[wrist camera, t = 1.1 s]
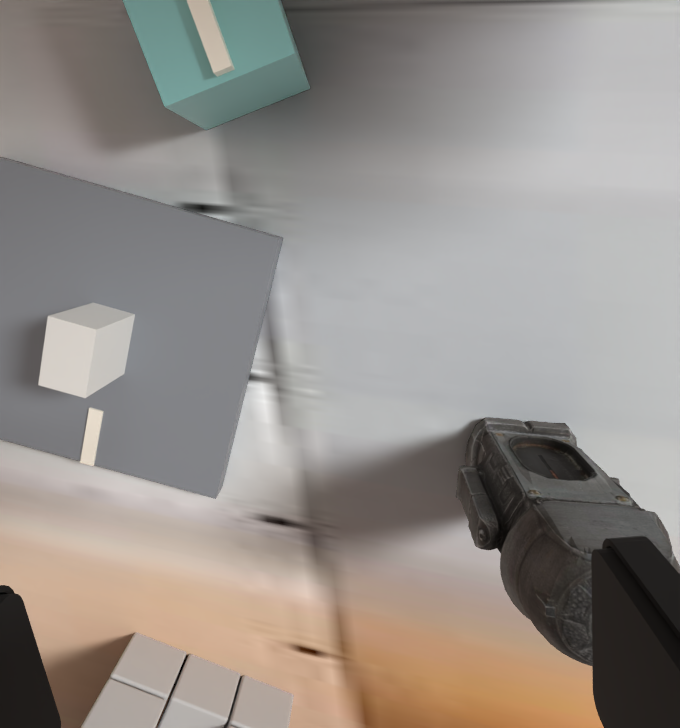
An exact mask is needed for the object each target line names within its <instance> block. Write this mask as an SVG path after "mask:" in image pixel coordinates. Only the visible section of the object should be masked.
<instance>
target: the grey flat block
mask: <svg viewBox="0 0 680 728" xmlns="http://www.w3.org/2000/svg"><path fill="white" fill-rule="evenodd" d="M282 241H283V238H282V237H279V236H275V235H272V234H268V233H265V232H261V231H258V230H254V229H251V228H247V227H244V226H240V225H237V224H234V223H230V222H227V221H223V220H220V219H216V218H213V217H209V216H206V215H202V214H199V213H195V212H192V211H188V210H185V209H181V208H178V207H174V206H171V205H167V204H164V203H160V202H157V201H153V200H150V199H147V198H143V197H140V196H136V195H133V194H129V193H126V192H122V191H119V190H115V189H112V188H108V187H105V186H101V185H98V184H94V183H91V182H87V181H84V180H80V179H77V178H73V177H70V176H66V175H63V174H59V173H56V172H53V171H49V170H46V169H42V168H39V167H35V166H32V165H28V164H25V163H21V162H18V161H14V160H11V159H7V158H4V157H0V439H1V440H5V441H8V442H12V443H16V444H19V445H23V446H27V447H30V448H34V449H37V450H41V451H45V452H48V453H52V454H56V455H59V456H63V457H66V458H70V459H74V460H77V461H80V463H83V464H87V465H90V466H94V465H95V466H99V467H103V468H106V469H110V470H114V471H117V472H121V473H124V474H128V475H132V476H135V477H139V478H143V479H146V480H150V481H153V482H157V483H161V484H164V485H168V486H172V487H175V488H179V489H182V490H186V491H190V492H193V493H197V494H201V495H204V496H208V497H211V498H215V499H216V497H217V496H218V494H219V492H220V490H221V488H222V486H223V481H224V477H225V473H226V469H227V465H228V461H229V457H230V453H231V449H232V445H233V441H234V437H235V432H236V428H237V424H238V420H239V416H240V412H241V408H242V404H243V400H244V396H245V392H246V388H247V384H248V379H249V375H250V371H251V367H252V363H253V359H254V355H255V351H256V347H257V343H258V339H259V335H260V330H261V326H262V322H263V318H264V314H265V310H266V306H267V302H268V298H269V294H270V290H271V286H272V282H273V277H274V273H275V269H276V265H277V261H278V257H279V253H280V249H281V245H282Z"/></svg>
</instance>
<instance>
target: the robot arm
mask: <svg viewBox="0 0 680 728" xmlns="http://www.w3.org/2000/svg"><path fill="white" fill-rule="evenodd" d="M591 571H592V652H593V695H594V701H595V705H596V709H597V712H598V715H599V717H600V720H601V722H602V724H603V726H604V728H680V574H679V573H678V572H677V571H676V569H675V568H674V567H673V566H672V565H671V564H670V562H669V561H668V560H667V559H666V558H665V557H664V556H663V554H662V553H661V552H660V551H659V550H658V549H657V547H656V546H655V545H654V544H653V543H652V542H651V540H649V539H648V538H647V537H646V536H632V537H619V538H606V539H605V540H604V542H603V544H602V549H594V550H593V551H592V557H591ZM0 728H61V721H60V716H59V713H58V710H57V707H56V704H55V701H54V697H53V694H52V691H51V688H50V685H49V682H48V678H47V675H46V672H45V669H44V666H43V663H42V659H41V656H40V653H39V650H38V647H37V644H36V640H35V637H34V634H33V631H32V628H31V625H30V621H29V618H28V615H27V612H26V609H25V606H24V603H23V600H22V598H21V597H20V596H19V595H18V594H15V593H14V591H13V590H12V589H11V588H10V587H9V586H5V585H1V586H0Z"/></svg>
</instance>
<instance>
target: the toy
mask: <svg viewBox="0 0 680 728" xmlns="http://www.w3.org/2000/svg"><path fill="white" fill-rule="evenodd" d="M465 459H466V466H460V468H459V471H458V480H457V496H456V497H457V498H458V499H459V500H461V503H462V505H463V508H464V510H465V513H466V516H467V518H468V521H469V529H470V531H471V535H472V538H473V540H474V543H475V546H476V547H478V548H480V549H485V550H492V549H495V548H498V550H499V551H500V553H501V559H500V570H501V577H502V580H503V584H504V587H505V590H506V592H507V594H508V595H509V597H510V599H511V601H512V602H513V604H514V605H515V606H516V607H517V608H518V609H519V611H520V612H521V613H522V614H523V615H525V616H526V617H527V618H528V619H530V620H531V621H532V623H533V624H534V626H535V627H536V629H537V630H538V631H539V632H540V633H541V634H542V635H543V636H544V637H545V638H546V640H547V641H548V642H549V643H550V644H551V645H553V646H554V647H555V648H556V649H558V650H559V651H560V652H562V653H563V654H565V655H567V656H569V657H570V658H572V659H575V660H577V661H579V662H581V663H584V664H587V665H590V666H593V652H592V571H591V557H592V551H593V550H594V549H602V544H603V542H604V540H605V539H606V538H619V537H632V536H646V537H647V538H648V539H649V540H651V542H652V543H653V544H654V545H655V546H656V547H657V549H658V550H659V551H660V552H661V553H662V554H663V556H664V557H665V558H666V559H667V560H668V561H669V562H670V564H671V565H672V566H673V567H674V568H675V569H676V571H677V572H678V573H679V574H680V566H679V564H678V562H677V560H676V558H675V556H674V554H673V551H672V546H671V542H670V539H669V535H668V532H667V531H666V529H665V527H664V525H663V524H662V522H661V520H660V519H659V517H658V516H657V514H656V513H655V512H650V511H646V510H645V509H641V508H640V507H639V506H638V505H637V504H636V502H635V501H634V500H633V499H632V498H631V497H630V494H629V493H628V492H627V491H625V490H624V489H623V488H622V487H621V486H620V484H619V479H617V478H610V477H609V476H608V475H607V474H606V473H605V472H604V471H603V470H602V469H601V468H600V467H599V466H598V465H597V464H596V463H594V462H593V461H592V460H591V459H590V458H589V457H588V456H587V455H586V454H585V453H584V452H583V451H582V449H580V448H578V447H577V444H576V437H575V436H574V434H573V433H572V431H571V430H570V429H569V427H568V426H567V425H566V424H565V423H547V422H537V421H529V422H527V423H523V422H522V421H519V420H513V419H500V418H485V419H484V420H482V421H481V422H480V423H478V424H477V425H476V426H475V428H474V430H473V432H472V434H471V436H470V438H469V441H468V444H467V450H466V455H465Z"/></svg>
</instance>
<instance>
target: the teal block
mask: <svg viewBox="0 0 680 728" xmlns="http://www.w3.org/2000/svg"><path fill="white" fill-rule="evenodd" d="M123 3H124V5H125V8H126V10H127V13H128V15H129V18H130V21H131V23H132V26H133V28H134V31H135V33H136V36H137V38H138V41H139V43H140V46H141V48H142V51H143V53H144V56H145V59H146V61H147V64H148V66H149V69H150V71H151V74H152V76H153V79H154V81H155V84H156V86H157V89H158V92H159V94H160V97H161V99H162V102H163V104H164V107H166V108H167V109H169V110H171V111H173V112H174V113H176V114H178V115H180V116H181V117H183V118H185V119H187V120H189V121H190V122H192V123H194V124H196V125H197V126H199V127H201V128H203V129H204V130H208V129H211V128H213V127H216V126H218V125H221V124H223V123H226V122H228V121H231V120H233V119H236V118H238V117H241V116H243V115H246V114H248V113H251V112H253V111H256V110H258V109H261V108H263V107H266V106H268V105H271V104H273V103H276V102H278V101H281V100H283V99H286V98H288V97H291V96H293V95H296V94H298V93H301V92H303V91H306V90H308V89H310V86H309V83H308V80H307V77H306V74H305V71H304V68H303V65H302V62H301V59H300V56H299V53H298V50H297V47H296V44H295V41H294V38H293V35H292V32H291V29H290V26H289V23H288V20H287V17H286V14H285V11H284V8H283V5H282V2H281V0H123Z"/></svg>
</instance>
